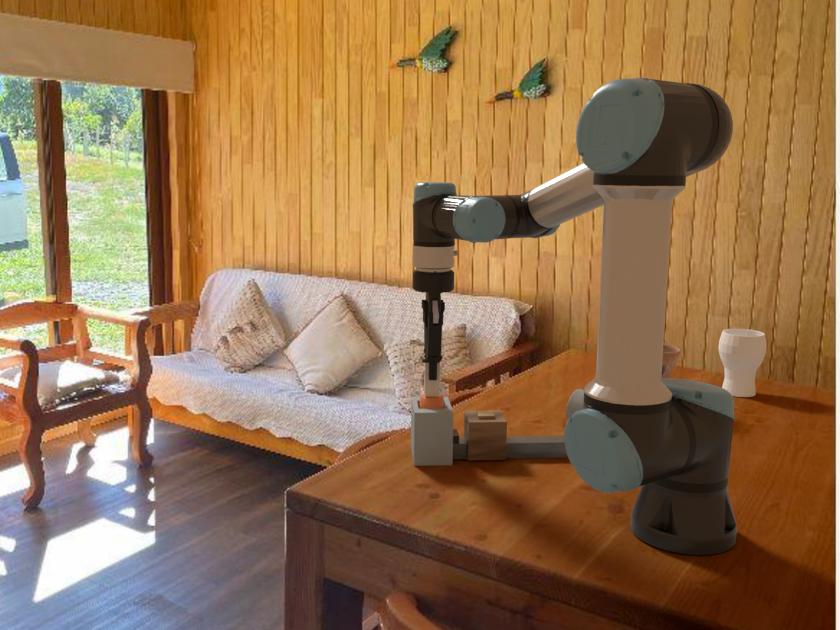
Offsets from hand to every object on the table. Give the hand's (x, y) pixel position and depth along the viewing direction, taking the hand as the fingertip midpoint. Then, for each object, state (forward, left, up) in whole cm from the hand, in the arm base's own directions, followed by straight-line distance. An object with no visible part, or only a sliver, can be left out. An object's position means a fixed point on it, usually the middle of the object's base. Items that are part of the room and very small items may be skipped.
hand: (431, 395), depth 151 cm
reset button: (0, 0, -6) cm, 6 cm away
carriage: (0, -10, -12) cm, 15 cm away
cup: (+40, -78, -12) cm, 88 cm away
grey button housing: (0, 0, -12) cm, 12 cm away
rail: (0, -16, -12) cm, 19 cm away
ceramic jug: (+30, -52, -12) cm, 61 cm away
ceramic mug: (+16, -36, -12) cm, 41 cm away
